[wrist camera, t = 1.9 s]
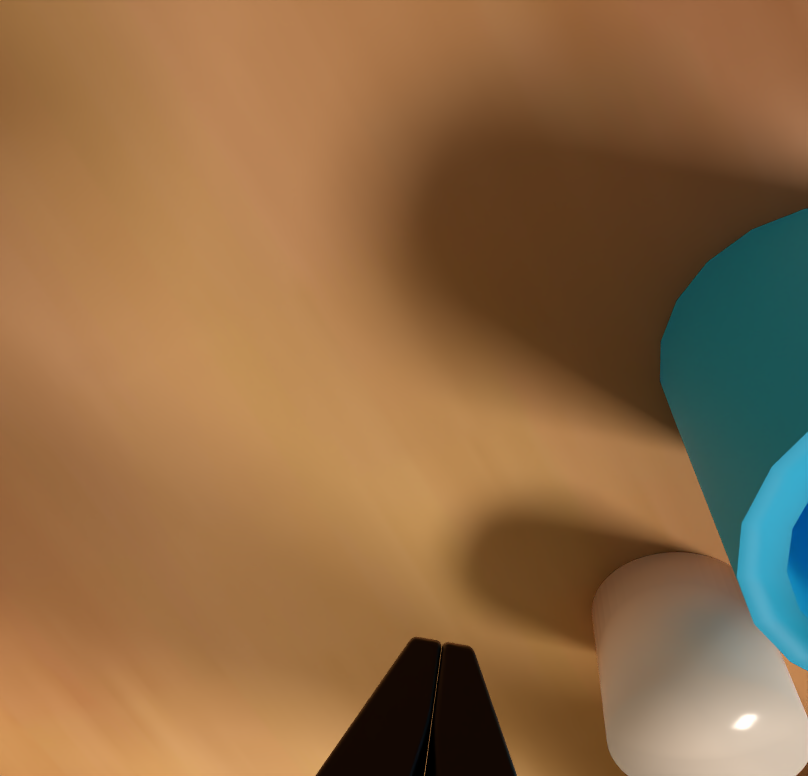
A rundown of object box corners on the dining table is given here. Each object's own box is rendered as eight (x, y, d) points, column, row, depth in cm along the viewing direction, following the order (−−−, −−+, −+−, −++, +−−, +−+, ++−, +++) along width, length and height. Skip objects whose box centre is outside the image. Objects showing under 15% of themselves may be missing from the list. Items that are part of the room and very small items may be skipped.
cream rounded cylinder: (730, 678, 25) (775, 817, 20) (578, 652, 25) (589, 780, 21) (782, 566, 22) (845, 697, 18) (609, 539, 23) (630, 660, 18)
